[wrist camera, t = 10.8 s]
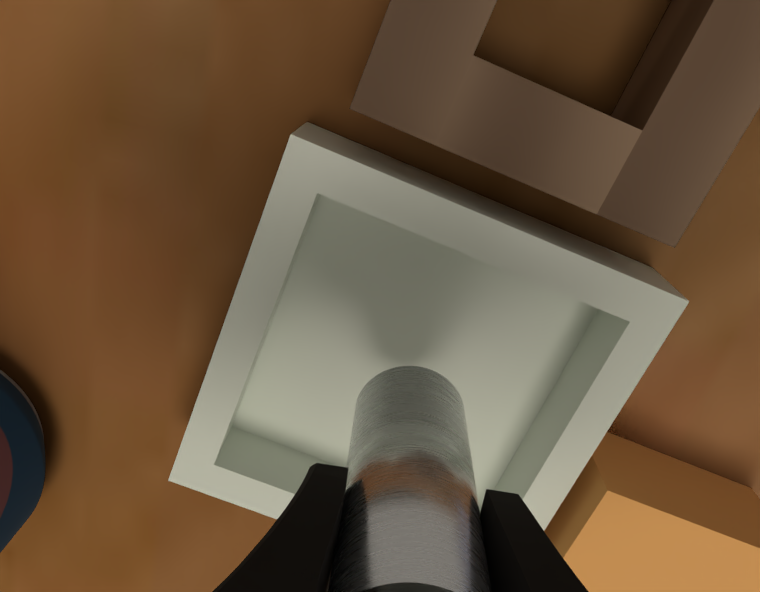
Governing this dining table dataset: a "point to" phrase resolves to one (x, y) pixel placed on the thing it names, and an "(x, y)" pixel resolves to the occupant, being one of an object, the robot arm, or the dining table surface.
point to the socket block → (577, 108)
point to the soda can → (18, 458)
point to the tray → (416, 329)
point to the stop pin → (410, 491)
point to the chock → (657, 525)
